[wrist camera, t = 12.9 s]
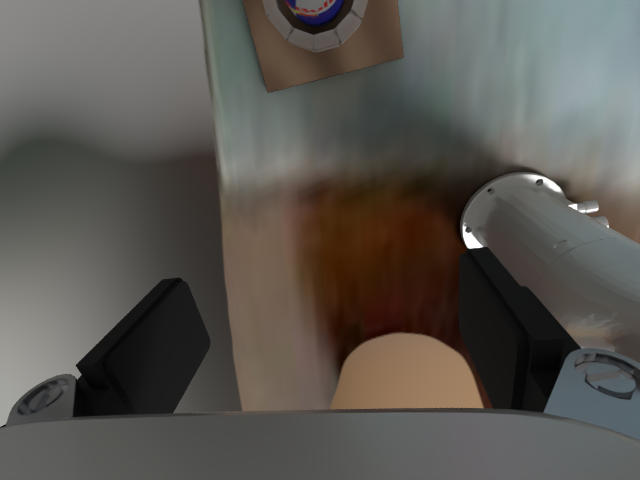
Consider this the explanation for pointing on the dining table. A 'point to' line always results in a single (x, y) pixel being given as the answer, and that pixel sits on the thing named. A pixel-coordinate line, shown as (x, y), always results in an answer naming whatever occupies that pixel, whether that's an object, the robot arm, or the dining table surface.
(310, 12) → the beverage can
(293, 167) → the dining table surface
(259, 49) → the can stand
